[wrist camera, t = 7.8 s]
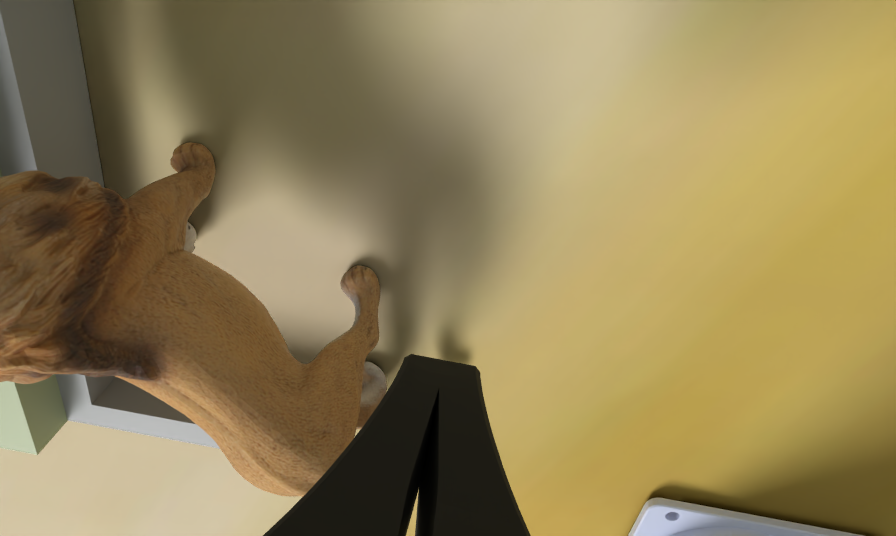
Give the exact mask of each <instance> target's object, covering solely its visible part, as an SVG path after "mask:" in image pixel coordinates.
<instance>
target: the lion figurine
mask: <svg viewBox="0 0 896 536" xmlns="http://www.w3.org/2000/svg"><path fill="white" fill-rule="evenodd" d="M171 166H172V167H173V168H174V169H175V170H176V171H177V172H178V173H176V174H173V175H171V176H168V177H165V178H163V179H160V180H158V181H155V182H153V183H151V184H149V185H147V186H145V187H144V188H142V189H140V190H139V191H138V192H136V193H135V194H133V195H132V196H131V197H129V198H127V199H123V198H122V197H121V196H120V195H119V194H118V193H117V192H115V191H114V190H111V189H108V188H102V187H101V185H100V184H99V183H98V182H94V181H91V180H90V179H89V178H88V177H82V176H78V177H65V178H61V179H57V178H55V177H53V176H51V175H49V174H48V173H47V172H42V171H25V172H21V173H17V174H13V175H8V176H4V177H0V382H4V381H10V382H15V383H20V384H33V383H36V382H39V381H42V380H45V379H48V378H49V377H51V376H52V375H53V374H80V375H85V376H89V377H94V378H95V377H105V376H115V377H118V378H120V379H123V380H125V381H127V382H129V383H131V384H133V385H135V386H137V387H139V388H141V389H143V390H145V391H146V392H148V393H150V394H152V395H153V396H155V397H157V398H158V399H160V400H162V401H164V402H165V403H167V404H168V405H170V406H171V407H173V408H175V409H176V410H178V411H179V412H181V413H182V414H184V415H185V416H187V417H188V418H189V419H190V420H192V421H193V422H194V423H195V424H197V425H198V426H199V427H200V428H202V429H203V430H204V431H205V432H206V433H207V434H208V435H209V436H210V437H211V438H212V439H213V440H214V441H215V442H216V443H217V445H218V446H219V447H220V449H221V450H222V452H223V453H224V454H225V456H226V457H227V459H228V460H229V461H230V463H231V464H232V466H233V467H234V468H235V470H236V471H237V472H238V473H239V474H240V475H241V476H242V477H243V478H244V479H246V480H247V481H249V482H250V483H251V484H253V485H254V486H256V487H258V488H260V489H262V490H264V491H267V492H270V493H274V494H277V495H281V496H302V497H303V496H304V495H305V494H306V493H307V492H308V491H309V490H310V489H311V488H312V487H313V486H314V485H315V484H316V482H317V481H318V480H319V479H320V478H321V477H322V476H323V475H324V474H325V472H326V471H327V470H328V469H329V468H330V467H331V466H332V464H333V463H334V462H335V461H336V460H337V458H338V457H339V456H340V455H341V453H342V452H343V451H344V450H345V449H346V447H347V446H348V445H349V444H350V443H351V441H352V440H353V439H354V437H355V432H356V429H362V427H363V426H364V424H365V423H366V422H367V420H368V419H369V417H370V416H371V415H372V413H373V412H374V410H375V409H376V408H377V406H378V405H379V403H380V402H381V400H382V399H383V397H384V396H385V393H386V390H387V383H386V377H385V375H384V373H383V371H382V370H381V369H380V368H379V367H378V366H376V365H375V364H373V363H372V362H365V359H366V357H367V355H368V354H369V352H370V351H372V350H373V349H374V347H375V346H376V345H377V343H378V340H379V326H378V306H379V300H380V285H379V282H378V279H377V276H376V275H375V273H374V272H373V271H372V270H371V269H370V268H369V267H365V266H359V265H357V266H354V267H352V268H351V269H350V270H349V271H347V272H346V273H345V274H344V276H343V277H342V279H341V289H342V290H343V292H344V293H345V294H346V295H347V296H348V297H349V298H350V299H351V301H352V302H353V304H354V306H355V310H356V315H355V321H354V324H353V327H352V328H351V329H350V330H348V331H347V332H346V333H344V334H343V335H341V336H340V337H338V338H337V339H335V340H334V341H332V342H331V343H329V344H328V345H327V346H326V347H325V348H324V349H323V350H322V351H321V352H320V353H319V354H318V355H317V357H316V358H315V359H314V360H313V361H312V362H310V363H307V364H302V363H300V362H298V361H297V360H296V359H295V358H294V357H293V356H292V355H291V354H290V352H289V350H288V347H287V345H286V343H285V340H284V338H283V337H282V335H281V333H280V331H279V330H278V328H277V326H276V324H275V322H274V321H273V319H272V318H271V316H270V314H269V313H268V311H267V309H266V308H265V306H264V305H263V304H262V303H261V302H260V301H259V300H258V299H257V298H256V297H255V296H254V295H253V294H252V293H251V292H250V291H249V290H248V289H247V288H246V287H245V286H244V285H243V284H241V283H240V282H239V281H238V280H236V279H235V278H234V277H233V276H231V275H230V274H228V273H227V272H225V271H224V270H222V269H220V268H219V267H217V266H215V265H213V264H212V263H210V262H208V261H206V260H204V259H202V258H200V257H198V256H196V255H195V254H192V252H193V251H194V249H195V246H194V243H195V241H196V239H197V235H196V231H195V229H194V227H193V226H192V225H191V224H190V223H189V222H187V221H188V219H189V217H190V215H191V214H192V212H193V211H194V210H195V208H196V207H197V206H198V205H199V204H200V202H201V201H202V200H203V199H205V198H206V197H207V196H208V195H209V193H210V190H211V187H212V184H213V181H214V177H215V164H214V159H213V156H212V154H211V153H210V151H209V150H208V149H207V148H206V147H205V146H204V145H202V144H199V143H190V142H188V143H185V144H183V145H180V146H179V147H177V148H176V149H175V150H174V152H173V157H172V158H171Z"/></svg>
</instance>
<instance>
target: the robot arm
mask: <svg viewBox="0 0 896 536" xmlns="http://www.w3.org/2000/svg"><path fill="white" fill-rule="evenodd" d="M418 489H419V494H418V506H417V519H416V531H415V536H530V533H529V531H528V529H527V527H526V524H525V522H524V520H523V517H522V515H521V513H520V510H519V508H518V505H517V503H516V500H515V498H514V495H513V492H512V490H511V487H510V485H509V482H508V479H507V476H506V474H505V471H504V468H503V465H502V462H501V459H500V456H499V453H498V450H497V446H496V443H495V440H494V437H493V434H492V430H491V427H490V423H489V419H488V415H487V411H486V407H485V402H484V397H483V392H482V386H481V379H480V372H479V370H478V369H477V368H476V366H471V365H466V364H461V363H456V362H450V361H445V360H440V359H434V358H429V357H424V356H419V355H413V354H411V355H409V356H407V357H405V358H404V361H403V363H402V366H401V368H400V370H399V372H398V374H397V376H396V377H395V379H394V381H393V383H392V384H391V386H390V388H389V389H388V391H387V392H386V394H385V396H384V397H383V399H382V400H381V402H380V403H379V405H378V406H377V408H376V409H375V410H374V412H373V413H372V415H371V416H370V417H369V419H368V420H367V422H366V423H365V424H364V426H363V427H362V429H361V430H360V431H359V433H358V434H357V435H356V436H355V438H354V439H353V440H352V441H351V443H350V444H349V445H348V446H347V447H346V449H345V450H344V451H343V452H342V453H341V455H340V456H339V457H338V458H337V460H336V461H335V462H334V463H333V464H332V466H331V467H330V468H329V469H328V470H327V471H326V472H325V474H324V475H323V476H322V477H321V478H320V479H319V480H318V481H317V482H316V484H315V485H314V486H313V487H312V488H311V489H310V490H309V491H308V492H307V493H306V494H305V495H304V496H303V497H302V498H301V499H300V500H299V501H298V502H297V503H296V504H295V505H294V507H293V508H292V509H291V510H290V511H289V512H288V513H287V514H285V515H284V516H283V517H282V518H281V519H280V520H279V521H278V522H277V523H276V524H275V525H274V526H273V527H272V528H271V529H270V530H269V531H267V532H266V533H265V534H264V535H263V536H406V533H407V529H408V526H409V522H410V518H411V515H412V511H413V507H414V504H415V500H416V496H417V493H418ZM628 536H864V535H859V534H853V533H848V532H842V531H837V530H832V529H826V528H821V527H816V526H810V525H805V524H800V523H794V522H789V521H783V520H778V519H773V518H767V517H762V516H757V515H751V514H746V513H741V512H735V511H730V510H724V509H719V508H714V507H708V506H703V505H698V504H692V503H687V502H682V501H676V500H671V499H665V498H652V499H650V500H648V501H647V502H646V503H645V505H644V506H643V508H642V510H641V512H640V514H639V516H638V518H637V520H636V521H635V523H634V525H633V527H632V529H631V531H630V533H629V535H628Z"/></svg>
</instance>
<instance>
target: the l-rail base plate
mask: <svg viewBox="0 0 896 536" xmlns="http://www.w3.org/2000/svg"><path fill="white" fill-rule="evenodd" d="M25 171H42V172H47V173H48V174H49V175H51V176H53V177H55V178H57V179H61V178H65V177H78V176H82V177H88V178H89V179H90V180H91V181H94V182H98V183H99V184H100V185H101V187H102V188H105V187H104V181H103V175H102V169H101V164H100V158H99V152H98V146H97V140H96V134H95V128H94V122H93V116H92V110H91V104H90V98H89V93H88V87H87V81H86V75H85V69H84V63H83V57H82V51H81V45H80V39H79V33H78V27H77V22H76V16H75V10H74V4H73V0H0V177H4V176H8V175H13V174H17V173H21V172H25ZM68 420H69V421H74V422H79V423H85V424H90V425H95V426H101V427H106V428H111V429H117V430H122V431H128V432H133V433H138V434H144V435H149V436H154V437H160V438H165V439H170V440H176V441H181V442H187V443H192V444H197V445H203V446H208V447H213V448H219V449H220V447H219V446H218V445H217V443H216V442H215V441H214V440H213V439H212V438H211V437H210V436H209V435H208V434H207V433H206V432H205V431H204V430H203V429H202V428H200V427H199V426H198V425H197V424H195V423H194V422H193V421H192V420H190V419H189V418H188V417H187V416H185V415H184V414H182V413H181V412H179V411H178V410H176V409H175V408H173V407H171V406H170V405H168V404H167V403H165V402H164V401H162V400H160V399H158V398H157V397H155V396H153V395H152V394H150V393H148V392H146V391H145V390H143V389H141V388H139V387H137V386H135V385H133V384H131V383H129V382H127V381H125V380H123V379H120V378H118V377H115V376H105V377H95V378H94V377H89V376H85V375H80V374H53V375H52V376H51V377H49V378H48V379H45V380H42V381H39V382H36V383H33V384H20V383H15V382H10V381H4V382H0V448H3V449H8V450H14V451H19V452H24V453H30V454H35V455H38V454H39V452H40V451H41V450H42V449H43V448H44V447H45V446H46V444H47V443H48V442H49V441H50V440H51V439H52V438H53V437H54V435H55V434H56V433H57V432H58V431H59V430H60V429H61V427H62V426H63V425H64V424H65V423H66V422H67V421H68Z"/></svg>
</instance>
